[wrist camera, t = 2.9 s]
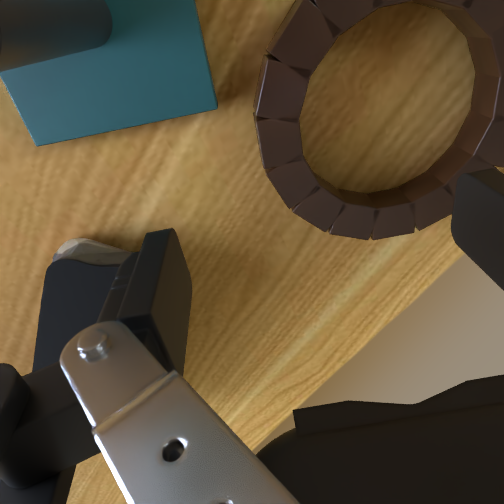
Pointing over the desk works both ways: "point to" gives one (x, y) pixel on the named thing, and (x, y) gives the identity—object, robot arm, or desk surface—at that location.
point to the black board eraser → (73, 294)
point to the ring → (418, 189)
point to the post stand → (102, 64)
